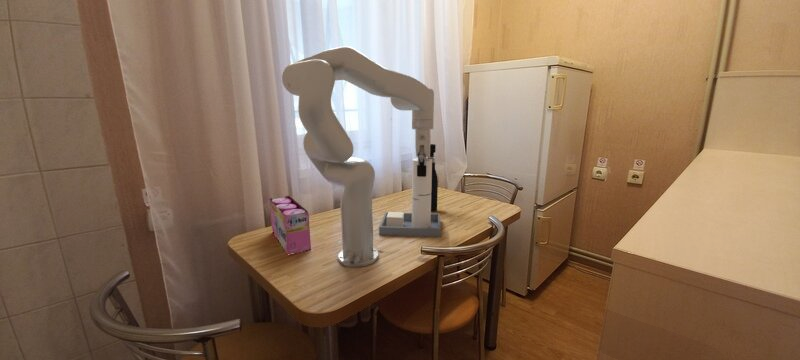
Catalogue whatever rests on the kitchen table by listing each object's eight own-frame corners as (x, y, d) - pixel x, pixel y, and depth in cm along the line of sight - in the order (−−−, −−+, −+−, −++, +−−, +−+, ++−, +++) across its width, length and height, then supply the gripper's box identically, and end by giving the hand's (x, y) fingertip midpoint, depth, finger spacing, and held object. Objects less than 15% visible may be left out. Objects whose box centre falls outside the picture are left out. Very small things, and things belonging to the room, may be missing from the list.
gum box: (270, 231, 121) (267, 197, 118) (292, 227, 126) (289, 194, 122) (287, 256, 102) (284, 215, 99) (312, 250, 106) (309, 211, 103)
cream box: (402, 230, 119) (402, 217, 118) (386, 229, 120) (386, 217, 119) (403, 224, 125) (403, 212, 124) (388, 223, 126) (388, 211, 125)
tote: (440, 239, 113) (440, 229, 112) (379, 237, 116) (379, 227, 115) (439, 223, 129) (439, 213, 128) (385, 221, 131) (385, 212, 130)
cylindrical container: (429, 228, 117) (430, 161, 111) (410, 227, 118) (410, 161, 113) (431, 222, 124) (433, 158, 118) (413, 220, 125) (413, 157, 120)
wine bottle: (421, 213, 141) (422, 145, 134) (423, 208, 147) (424, 143, 140) (436, 214, 139) (437, 145, 132) (437, 209, 145) (439, 143, 138)
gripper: (433, 126, 104) (432, 179, 108) (433, 123, 121) (432, 169, 125) (410, 126, 105) (410, 179, 109) (413, 123, 121) (413, 169, 125)
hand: (421, 173), depth 117 cm, fingers closed on cylindrical container, 7 cm apart
